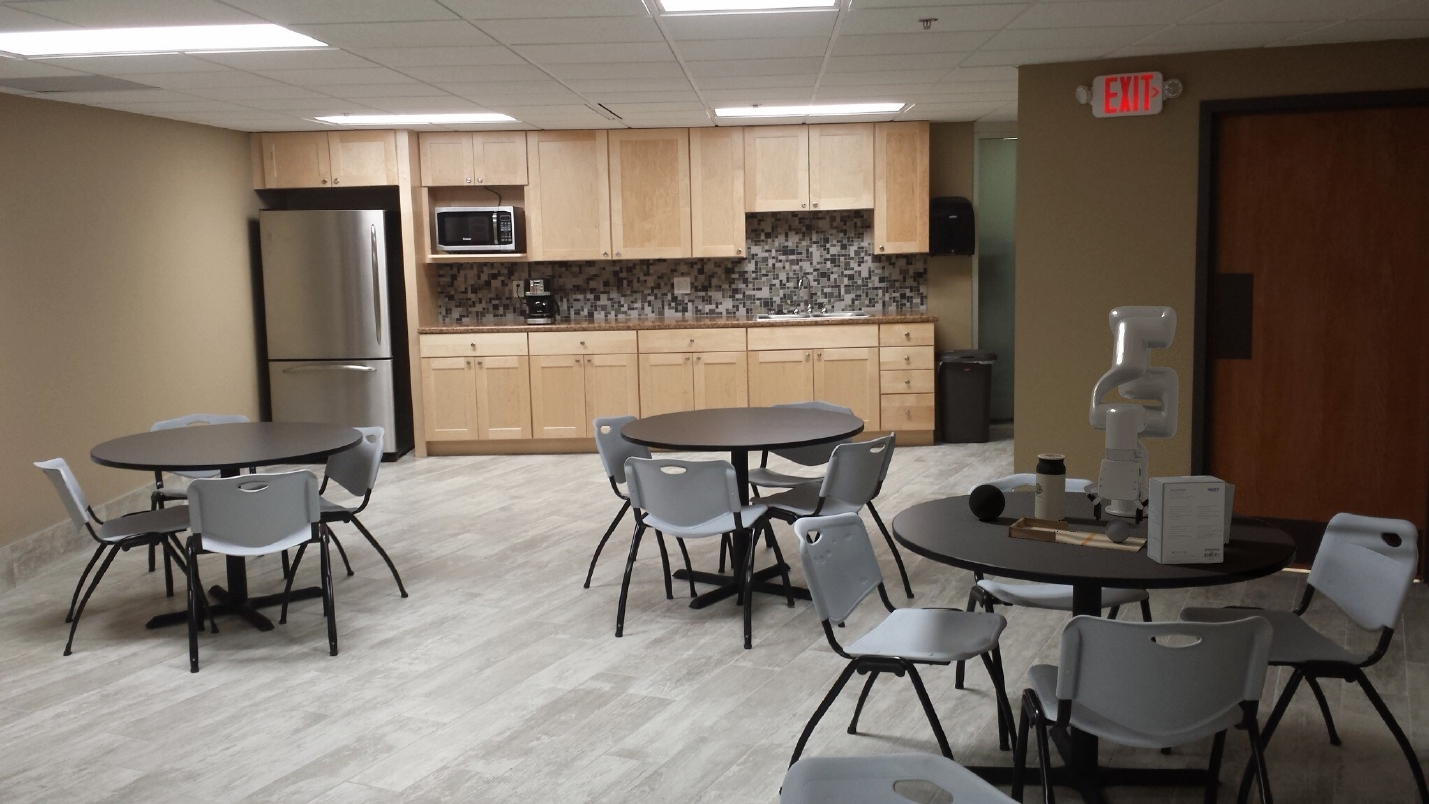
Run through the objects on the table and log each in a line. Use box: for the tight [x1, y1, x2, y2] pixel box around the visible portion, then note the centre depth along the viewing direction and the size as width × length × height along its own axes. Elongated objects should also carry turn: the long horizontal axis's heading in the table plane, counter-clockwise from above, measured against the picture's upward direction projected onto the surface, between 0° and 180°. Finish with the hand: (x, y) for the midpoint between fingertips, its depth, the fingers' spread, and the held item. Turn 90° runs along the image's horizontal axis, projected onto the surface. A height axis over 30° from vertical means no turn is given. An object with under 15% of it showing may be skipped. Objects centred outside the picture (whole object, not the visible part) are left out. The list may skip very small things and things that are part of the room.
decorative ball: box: [968, 483, 1006, 521], centre depth 302 cm, size 10×10×10 cm
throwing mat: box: [1008, 516, 1148, 553], centre depth 280 cm, size 14×32×3 cm, turn 59°
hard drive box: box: [1147, 475, 1227, 565], centre depth 257 cm, size 16×8×20 cm, turn 92°
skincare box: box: [1223, 482, 1236, 545], centre depth 276 cm, size 8×7×16 cm
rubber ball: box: [1104, 518, 1131, 542], centre depth 275 cm, size 6×6×6 cm
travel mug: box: [1034, 453, 1067, 521], centre depth 302 cm, size 8×8×18 cm
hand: (1117, 521), depth 274 cm, fingers open, 9 cm apart
